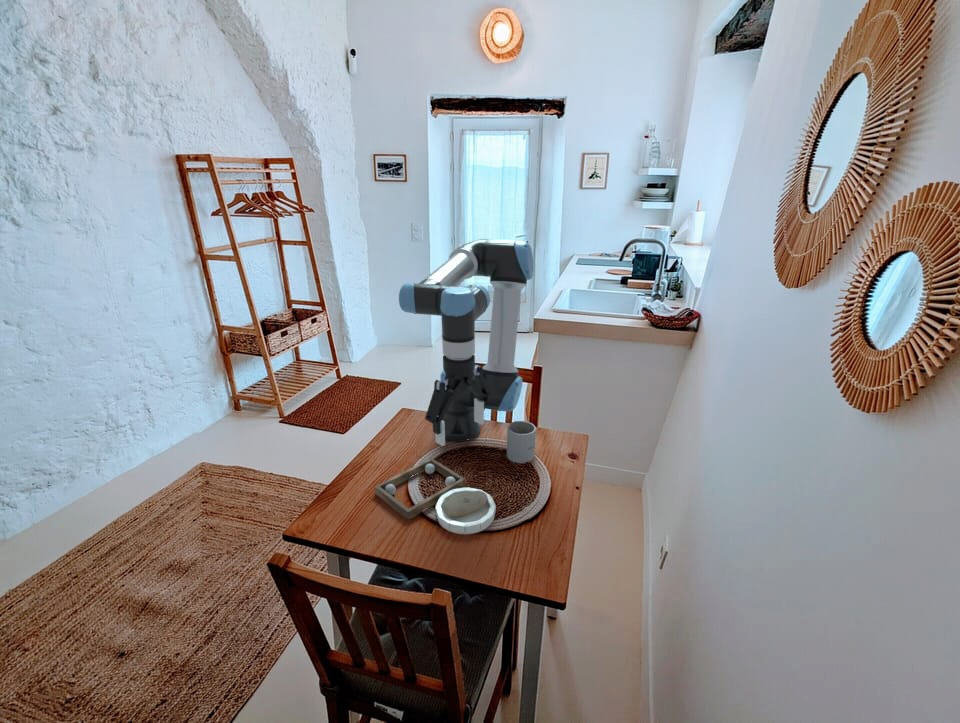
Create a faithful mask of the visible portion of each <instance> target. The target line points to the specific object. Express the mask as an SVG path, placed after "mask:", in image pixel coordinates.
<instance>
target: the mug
mask: <svg viewBox="0 0 960 723" xmlns="http://www.w3.org/2000/svg"><path fill="white" fill-rule="evenodd" d="M536 430H537V427H536V425H534V424H533V423H532V422H530V421H525V420H516V421H513V422H510V423H509V424H508V425H507V431H506V432H507V435H506V438H507V440H506V441H507V442H506V458H507V459H508V460H509V461H510V462H513V463H515V462H516V463H517V464H527V463H526V462H528V461H530V460H531V459H533V457H534V458H535V448H536V435H537V434H536V433H537V431H536ZM533 460H534V459H533ZM530 462H531V461H530ZM516 463H515V464H516ZM528 463H529V462H528Z"/></svg>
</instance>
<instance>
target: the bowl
mask: <svg viewBox="0 0 960 723" xmlns="http://www.w3.org/2000/svg"><path fill="white" fill-rule="evenodd" d="M472 491H482V492H484V493H485V494H486V495H487V501H486V503H485V505H484V506H483V507H482V508H480V509H479V510H477V511H475V512H473V513H471V514H468V515H465V516H461V517H449V516H447V515H446V514H445V513H444V510H443V506H444V504H445V502H446V501H447V500H448V499H450V498H452V497H454V496H456V495H459V494H462V493H467V492H472ZM496 507H497V506H496V503H495V501H494V498H493V497H492V495H491V494H489V493H487V492H486V491H483V489H478V488H473V487H468V486H467V487H466V486H465V487H464V488H458V489H453V490H450V491H449V492H447V493H445V494H443V495H442V496H441V497H440V498H439V500H438V502H437V504H435V514H436V519H438V520H437V522H438V521H439V522H438V523H439V526H441V527H442V528H443V529H445V530H446V531H448V532H451V533H453V534H457V535H474V534H477V533H480V532H482V531H484V530H486V529H487V528H489V527H490V526H491V525H492V524H493V522H494V519H495V516H496V515H495V514H496V510H497V508H496Z"/></svg>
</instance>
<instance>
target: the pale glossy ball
mask: <svg viewBox="0 0 960 723" xmlns="http://www.w3.org/2000/svg"><path fill="white" fill-rule="evenodd" d="M435 471H436V470H435V467H434V465H433V464H427V465H426V466H425V471H424V472H425V473H426V474H428V475H432V474H434V472H435Z"/></svg>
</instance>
